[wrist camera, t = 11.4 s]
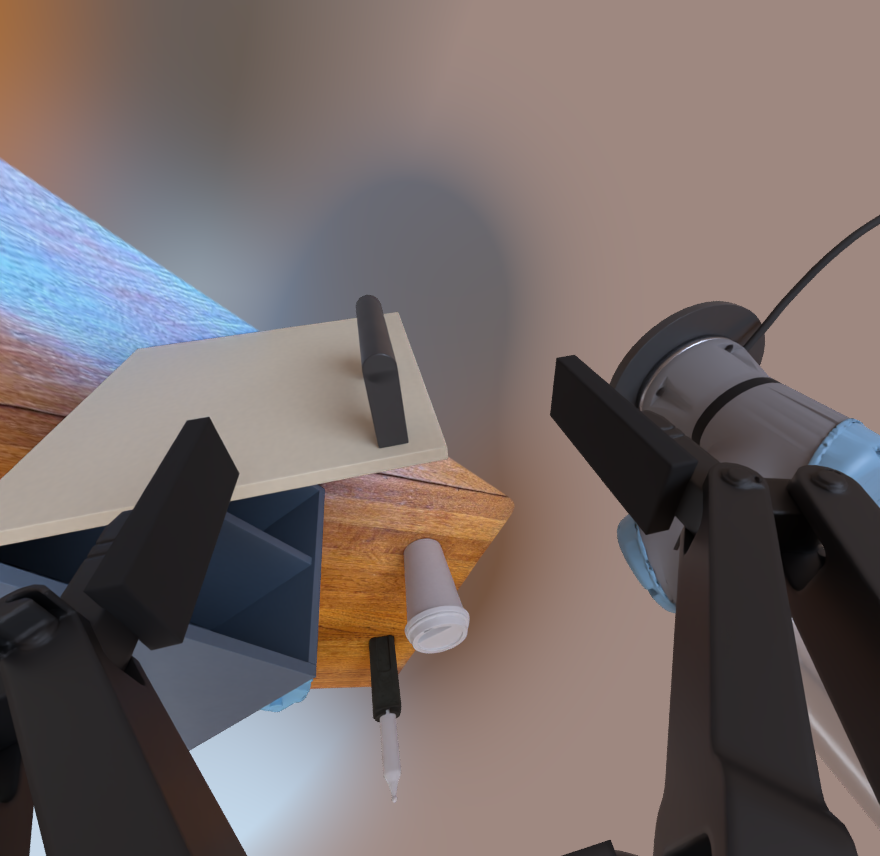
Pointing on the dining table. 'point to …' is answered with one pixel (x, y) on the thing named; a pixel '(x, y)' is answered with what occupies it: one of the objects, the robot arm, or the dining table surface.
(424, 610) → the coffee cup
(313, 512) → the cupboard
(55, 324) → the dining table surface
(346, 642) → the dining table surface
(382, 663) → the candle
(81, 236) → the dining table surface
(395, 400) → the cupboard door
